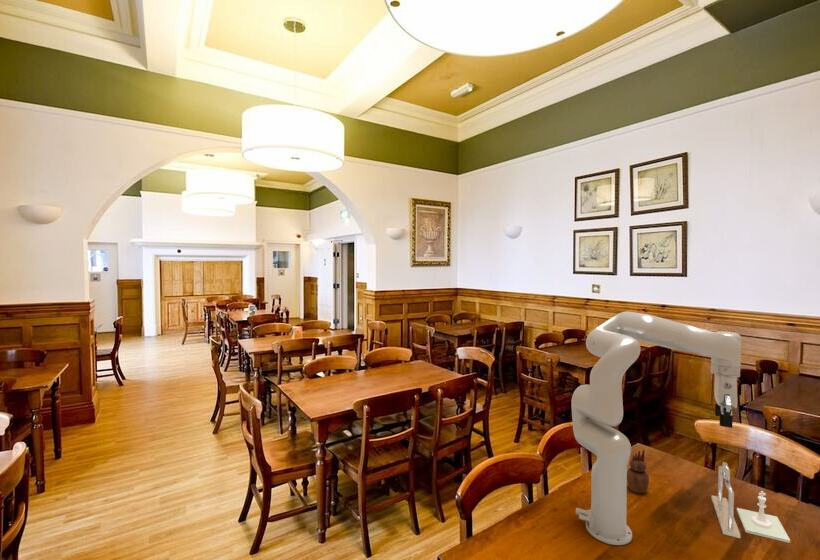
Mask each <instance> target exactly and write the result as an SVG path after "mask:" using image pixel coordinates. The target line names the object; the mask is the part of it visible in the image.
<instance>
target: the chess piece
mask: <svg viewBox="0 0 820 560" xmlns="http://www.w3.org/2000/svg"><path fill="white" fill-rule="evenodd" d="M766 495H767V494H766V493H765V492H764V491H763V490H761V491H760V492H758V496H757V499H758V502H757V504H756V505H757V506H758V507H759V509H758V516H752V517H751V521H752V523H754V524H755V525H757V526H759V527H762V528H772V523H771V522H770V521H769V520H767V519H766V518H765V514H766V513H765V508H767V504H765V503H766V501H767V498H766V497H765V496H766Z"/></svg>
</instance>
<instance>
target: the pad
mask: <svg viewBox="0 0 820 560" xmlns="http://www.w3.org/2000/svg"><path fill="white" fill-rule="evenodd" d="M736 512H737V515H738V517H739V520H740V522H741V525H742V527H743V530H744V532H745V533H747V534H751V535H754V536H759V537H764V538H768V539H772V540H774V541H775V540H776V541H780V542H784V543H787V544H791V539H790V537H789V535H788V533H787V532H786V529H785V528H784V526H783V524H782V523H781V521H780V519H779V518H778V516H776V515H771V514H768V513H767V514H766V513H764V514H765V518H766V519H767V520H769V521H770V522H771V523H772V528H762V527H759V526H757V525H755V524H754V523H752V521H751V517H752V516H758V513H759V511H753V510H749V509H745V508H739V507H736Z"/></svg>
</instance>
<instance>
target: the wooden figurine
mask: <svg viewBox="0 0 820 560" xmlns="http://www.w3.org/2000/svg"><path fill="white" fill-rule="evenodd" d="M637 452H638V453H635V455H633V454H632V458H631V459H629V466H630V467H629V468H627V487H629V489H630V490H631V491H632V492H633V493H637V494H645V493H646V492H647V491H648V489H649V483H650V476H649V474H648V472H647V471H646V469H647V464H646V462H645V449H643V450H642V453H641V451H640V450H638V451H637Z"/></svg>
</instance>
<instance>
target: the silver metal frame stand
mask: <svg viewBox="0 0 820 560" xmlns="http://www.w3.org/2000/svg"><path fill="white" fill-rule="evenodd" d="M717 474H718V475H717V476H718V478H717V479H718V481H717V495H712V494H711V501H712V504H713V507H714V511H715V514H716V516H717V519H718V522H719V526H720V528H721V531H722V534H723V535H725V536H729V537H733V538H737V539H741V532H740V529H739V527H738V524H737V522H736V520H735V517H734V509H735V508H734V505H735V504H734V503H735V500H734V499H735V492H734V490H733V488H732V485H731V483H730V482H731V480H730V479H731V470H730V467H729V465H728V463H727V462H725V461H723V462H722V465H719V466H718V473H717ZM723 483H724V484H725V486H726V489H727V491H728V499H727V498H726V497H724V496H723V490H724V486H723V485H724V484H723Z"/></svg>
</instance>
